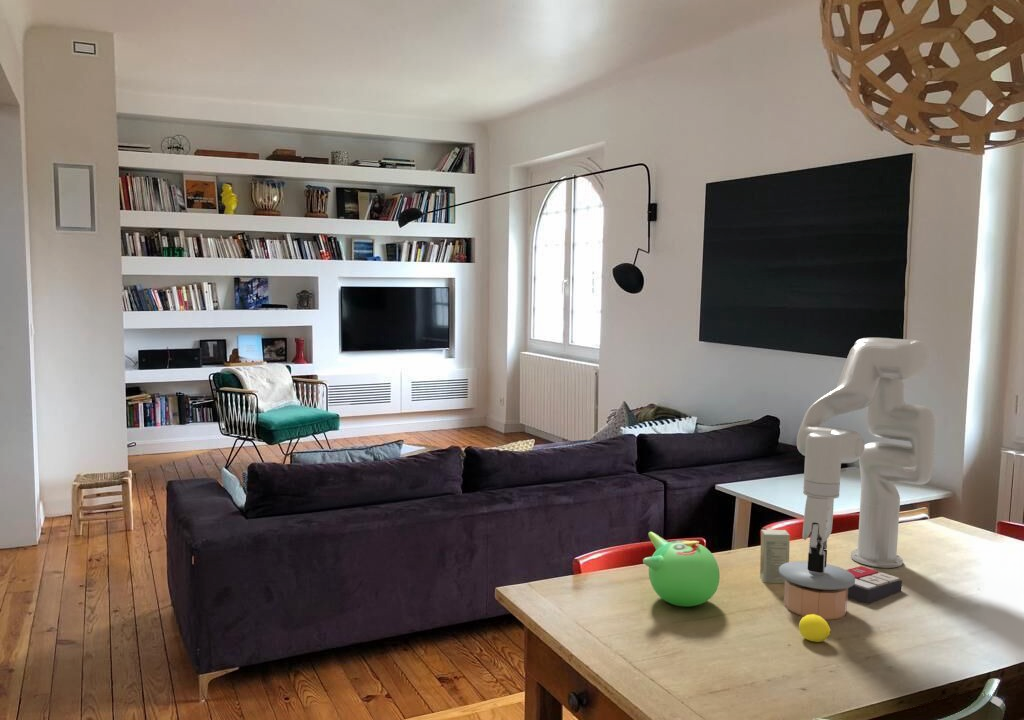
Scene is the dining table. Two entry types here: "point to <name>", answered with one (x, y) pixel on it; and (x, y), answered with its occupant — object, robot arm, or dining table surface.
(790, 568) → the lid
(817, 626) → the lemon
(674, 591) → the toy bird
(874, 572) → the calculator
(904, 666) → the dining table surface
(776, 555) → the skincare box
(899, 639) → the dining table surface
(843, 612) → the bowl
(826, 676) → the dining table surface
